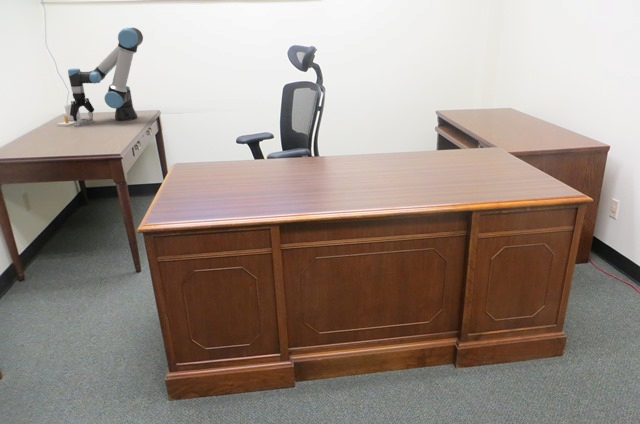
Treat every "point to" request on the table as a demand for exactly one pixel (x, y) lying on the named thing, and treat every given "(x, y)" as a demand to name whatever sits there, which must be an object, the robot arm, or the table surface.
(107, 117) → the table surface
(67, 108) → the mug
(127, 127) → the table surface
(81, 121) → the link
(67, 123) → the keeper
